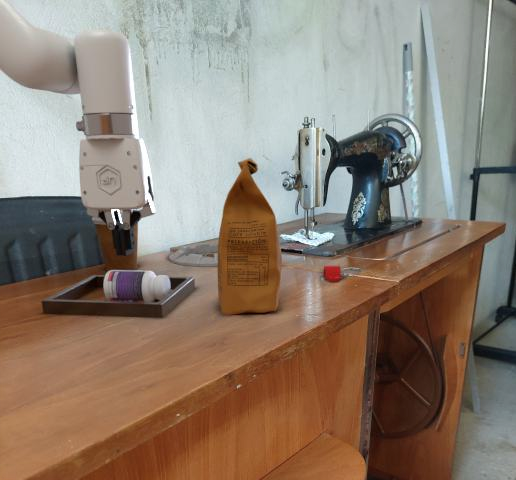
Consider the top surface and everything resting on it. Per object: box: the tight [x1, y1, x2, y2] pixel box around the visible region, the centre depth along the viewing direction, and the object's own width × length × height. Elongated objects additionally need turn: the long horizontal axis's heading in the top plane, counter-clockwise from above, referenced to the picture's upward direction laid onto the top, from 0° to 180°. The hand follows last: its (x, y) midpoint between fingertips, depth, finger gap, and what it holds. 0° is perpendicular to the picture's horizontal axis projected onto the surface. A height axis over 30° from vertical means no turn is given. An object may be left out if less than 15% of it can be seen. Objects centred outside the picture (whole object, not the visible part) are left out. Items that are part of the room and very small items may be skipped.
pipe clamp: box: [323, 265, 342, 283], centre depth 99 cm, size 8×3×2 cm, turn 179°
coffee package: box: [217, 157, 283, 316], centre depth 78 cm, size 10×12×22 cm
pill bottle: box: [103, 269, 172, 302], centre depth 84 cm, size 5×5×10 cm
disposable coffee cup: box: [91, 210, 139, 272], centre depth 107 cm, size 10×10×12 cm
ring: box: [169, 243, 218, 267], centre depth 119 cm, size 19×19×2 cm
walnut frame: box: [41, 274, 196, 319], centre depth 85 cm, size 19×17×2 cm
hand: (125, 253), depth 82 cm, fingers closed
